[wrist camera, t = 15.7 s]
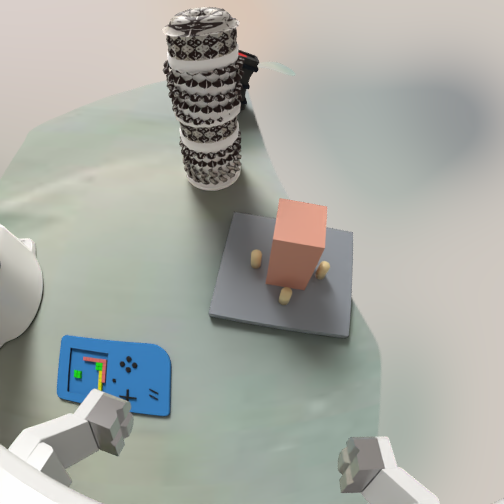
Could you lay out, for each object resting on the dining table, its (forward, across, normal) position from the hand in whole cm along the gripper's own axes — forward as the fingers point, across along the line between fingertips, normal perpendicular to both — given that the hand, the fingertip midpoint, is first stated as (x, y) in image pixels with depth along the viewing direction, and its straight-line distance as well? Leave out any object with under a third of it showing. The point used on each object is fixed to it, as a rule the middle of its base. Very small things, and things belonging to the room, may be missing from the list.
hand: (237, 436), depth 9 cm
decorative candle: (+39, +10, -7) cm, 41 cm away
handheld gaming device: (+17, +15, +16) cm, 28 cm away
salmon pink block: (+27, -3, +3) cm, 27 cm away
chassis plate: (+28, -3, +4) cm, 28 cm away
